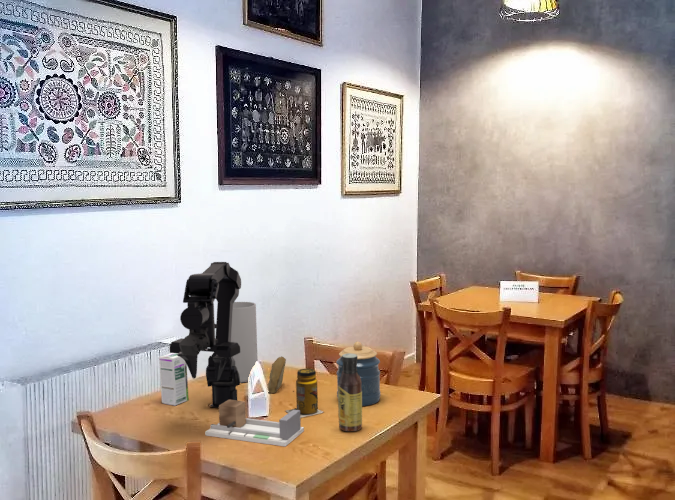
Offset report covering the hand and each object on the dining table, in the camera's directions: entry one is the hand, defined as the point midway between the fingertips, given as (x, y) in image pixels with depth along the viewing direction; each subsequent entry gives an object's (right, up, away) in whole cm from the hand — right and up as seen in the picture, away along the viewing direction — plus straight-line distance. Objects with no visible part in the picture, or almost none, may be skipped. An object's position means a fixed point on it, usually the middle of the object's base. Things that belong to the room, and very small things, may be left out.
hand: (205, 379), depth 176 cm
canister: (+41, -11, +21) cm, 48 cm away
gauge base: (+14, -13, -4) cm, 19 cm away
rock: (+15, -10, +34) cm, 39 cm away
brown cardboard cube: (+7, -12, -3) cm, 14 cm away
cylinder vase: (+2, -9, +47) cm, 47 cm away
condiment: (+26, -12, +11) cm, 31 cm away
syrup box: (-14, -11, +23) cm, 29 cm away
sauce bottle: (+39, -13, -2) cm, 41 cm away
